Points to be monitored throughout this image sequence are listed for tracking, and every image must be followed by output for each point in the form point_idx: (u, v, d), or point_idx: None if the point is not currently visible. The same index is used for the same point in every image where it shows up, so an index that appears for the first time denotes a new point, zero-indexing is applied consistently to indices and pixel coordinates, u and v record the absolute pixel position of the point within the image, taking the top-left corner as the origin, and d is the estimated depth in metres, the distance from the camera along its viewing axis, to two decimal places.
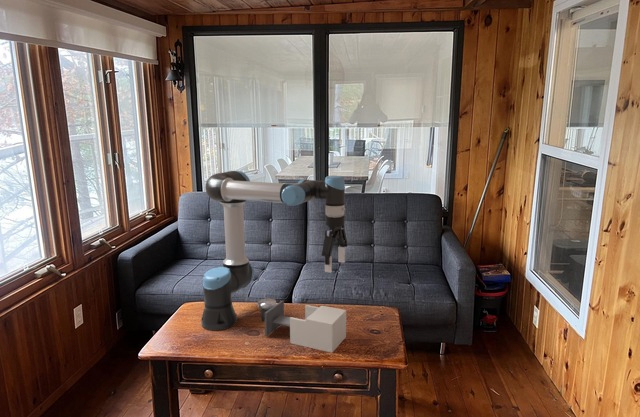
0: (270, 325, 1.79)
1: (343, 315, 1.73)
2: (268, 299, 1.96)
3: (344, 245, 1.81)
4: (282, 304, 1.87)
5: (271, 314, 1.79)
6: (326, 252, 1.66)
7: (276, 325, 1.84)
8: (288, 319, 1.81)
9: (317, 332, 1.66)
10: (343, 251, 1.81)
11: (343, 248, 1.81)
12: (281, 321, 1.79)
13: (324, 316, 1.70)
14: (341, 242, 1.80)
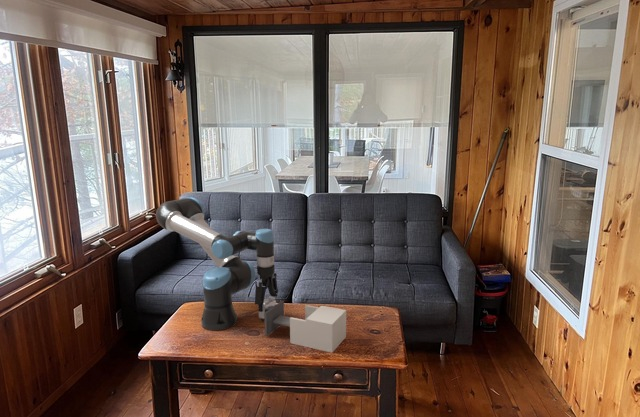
0: (270, 325, 1.79)
1: (343, 315, 1.73)
2: (268, 299, 1.96)
3: (274, 294, 1.96)
4: (282, 304, 1.87)
5: (271, 314, 1.79)
6: (258, 301, 1.86)
7: (276, 325, 1.84)
8: (288, 319, 1.81)
9: (317, 332, 1.66)
10: None
11: (273, 298, 1.96)
12: (281, 321, 1.79)
13: (324, 316, 1.70)
14: (271, 291, 1.95)
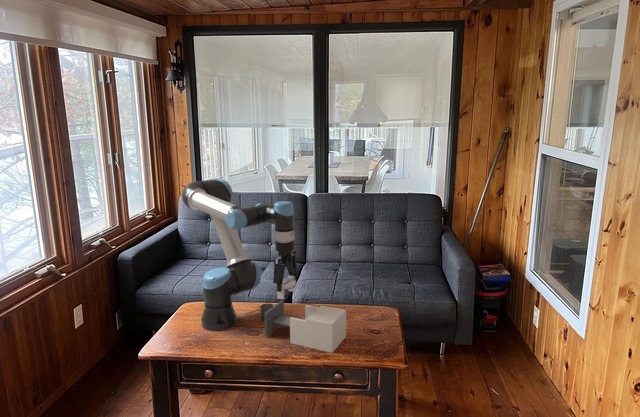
0: (270, 325, 1.79)
1: (343, 315, 1.73)
2: (286, 278, 1.80)
3: (293, 274, 1.80)
4: (282, 304, 1.87)
5: (271, 314, 1.79)
6: (277, 280, 1.70)
7: (276, 325, 1.84)
8: (288, 319, 1.81)
9: (317, 332, 1.66)
10: None
11: (292, 277, 1.80)
12: (281, 321, 1.79)
13: (324, 316, 1.70)
14: (290, 270, 1.79)
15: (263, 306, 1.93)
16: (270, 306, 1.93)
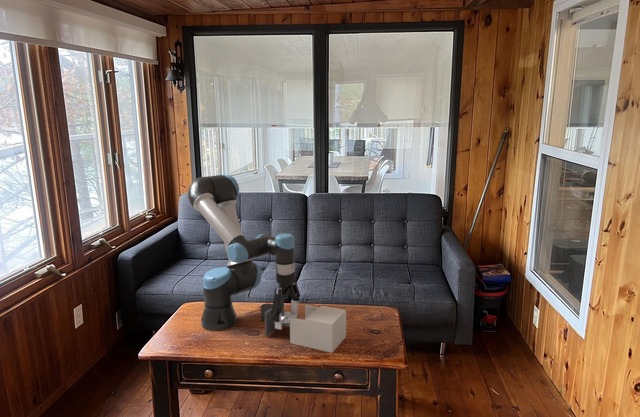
0: (270, 325, 1.79)
1: (343, 315, 1.73)
2: (287, 312, 1.83)
3: (296, 299, 1.85)
4: None
5: (271, 314, 1.79)
6: (275, 311, 1.70)
7: None
8: None
9: (317, 332, 1.66)
10: (295, 305, 1.85)
11: (295, 302, 1.85)
12: None
13: (324, 316, 1.70)
14: (293, 297, 1.83)
15: (263, 306, 1.93)
16: (270, 306, 1.93)
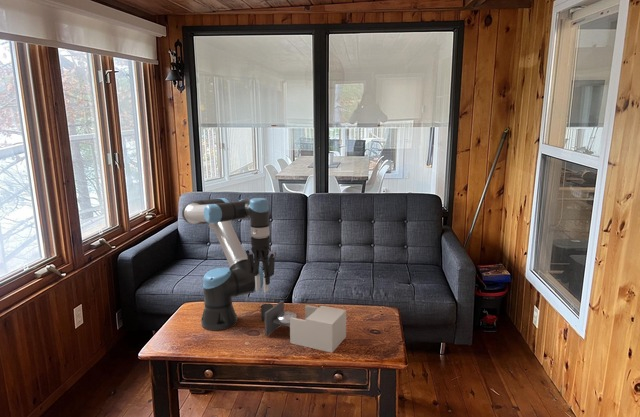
0: (270, 325, 1.79)
1: (343, 315, 1.73)
2: (287, 312, 1.83)
3: None
4: (282, 304, 1.87)
5: (271, 314, 1.79)
6: None
7: (276, 325, 1.84)
8: None
9: (317, 332, 1.66)
10: None
11: None
12: None
13: (324, 316, 1.70)
14: None
15: (263, 306, 1.93)
16: (270, 306, 1.93)
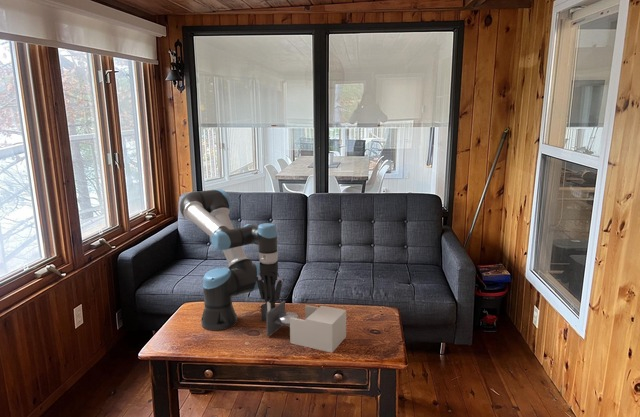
0: (272, 325, 1.79)
1: (343, 315, 1.73)
2: (289, 312, 1.83)
3: (270, 299, 1.80)
4: (283, 304, 1.87)
5: (272, 314, 1.79)
6: None
7: (277, 325, 1.83)
8: None
9: (317, 332, 1.66)
10: None
11: None
12: None
13: (324, 316, 1.70)
14: None
15: (263, 306, 1.93)
16: None
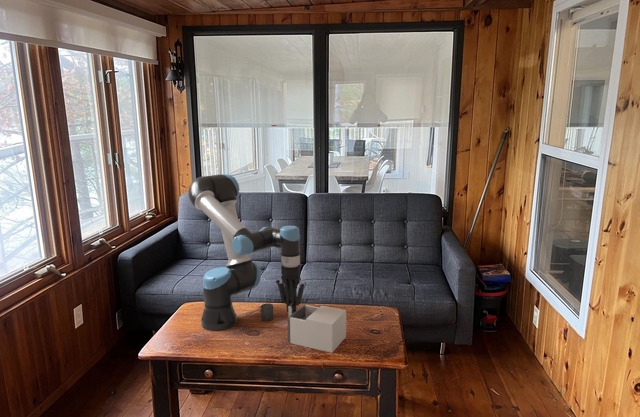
0: None
1: (343, 315, 1.73)
2: None
3: (291, 303, 1.76)
4: (304, 308, 1.83)
5: None
6: None
7: None
8: None
9: (317, 332, 1.66)
10: None
11: None
12: None
13: (324, 316, 1.70)
14: None
15: (263, 306, 1.93)
16: (270, 306, 1.93)
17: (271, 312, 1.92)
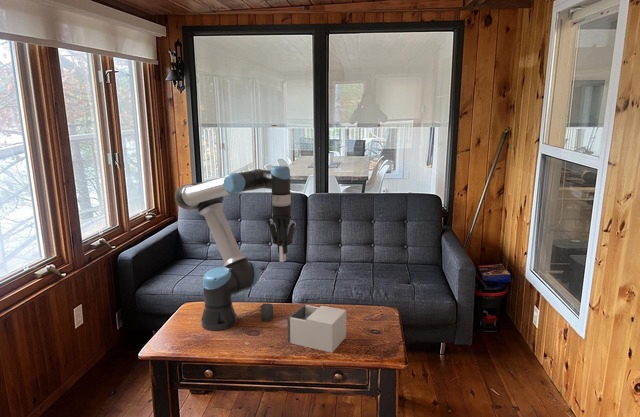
0: None
1: (343, 315, 1.73)
2: None
3: (282, 243, 1.78)
4: (304, 308, 1.83)
5: None
6: None
7: None
8: None
9: (317, 332, 1.66)
10: None
11: None
12: None
13: (324, 316, 1.70)
14: None
15: (263, 306, 1.93)
16: (270, 306, 1.93)
17: (271, 312, 1.92)
